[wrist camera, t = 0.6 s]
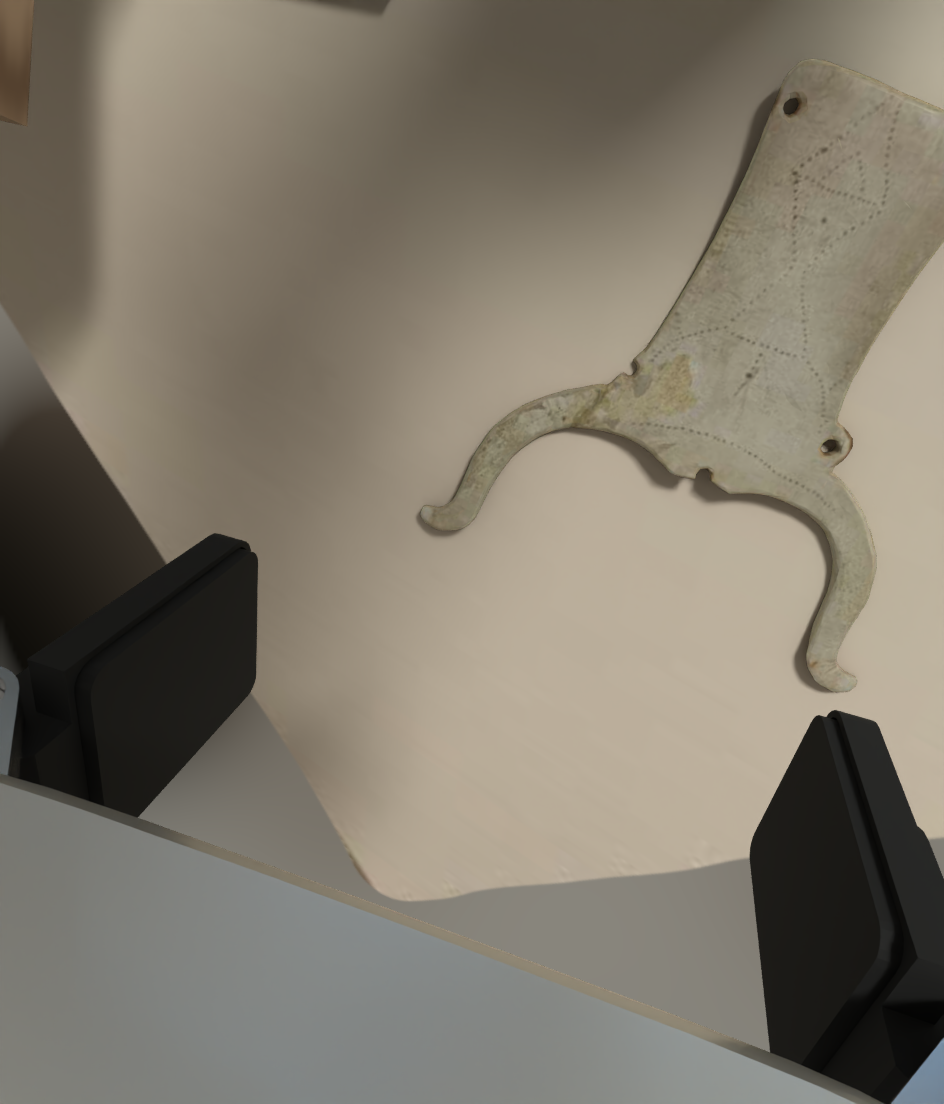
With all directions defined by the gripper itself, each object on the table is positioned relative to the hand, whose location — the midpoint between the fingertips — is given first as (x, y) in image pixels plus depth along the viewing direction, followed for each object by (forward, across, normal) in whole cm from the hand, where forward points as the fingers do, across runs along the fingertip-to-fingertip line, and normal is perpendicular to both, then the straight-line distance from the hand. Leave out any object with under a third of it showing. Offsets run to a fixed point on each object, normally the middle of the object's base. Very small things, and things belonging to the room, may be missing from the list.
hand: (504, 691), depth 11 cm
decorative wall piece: (+33, -6, +1) cm, 34 cm away
